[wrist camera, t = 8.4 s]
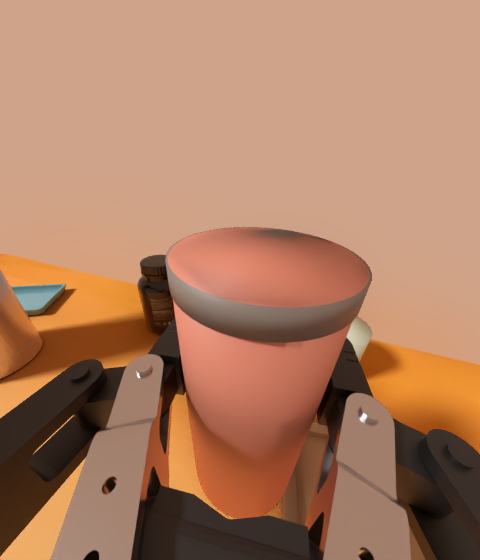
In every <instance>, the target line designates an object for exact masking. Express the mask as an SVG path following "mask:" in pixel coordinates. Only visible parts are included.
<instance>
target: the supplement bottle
mask: <svg viewBox="0 0 480 560" xmlns="http://www.w3.org/2000/svg"><path fill="white" fill-rule="evenodd" d="M165 259H166V255H154V256H149V257H146V258H144V259H143V260H141V262H140V266H141V274H142V277H141V278H140V280H139V281H138V291H139V295H140V299H141V303H142V308H143V312H144V316H145V320H146V324H147V327H148V329H149V330H150V331H152V332H153V333H156V334H163V332H164V331H165V330H166V328H167V327H168V326H169V324H170V323H171V321H172V320H173V319H174V317H175V311H174V304H173V298H172V296H171V293H170V289H169V283H168V276H167V269H166V262H165Z"/></svg>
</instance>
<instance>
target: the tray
mask: <svg viewBox="0 0 480 560" xmlns="http://www.w3.org/2000/svg"><path fill="white" fill-rule="evenodd" d="M328 436H329V434H328V428H327V426H325V425H320V424H318V422H313V423H312V425H311V428H310V430H309V433H308V435H307V438H306V440H305V443H304V445H303V448H302V450H301V453H300V455H299V458H298V460H297V463H296V466H295V468H294V471H293V473H292V476H291V478H290V481H289V483H288V486H287V488H286V491H285V493H284V494H283V496H282V519H283V520H287V521H290V522H294V523H297V524H301V525H304V526H305V522H306V518H307V515H308V511H309V508H310V505H311V503H312V500H313V496H314V492H315V488H316V484H317V479H318V475H319V471H320V466H321V462H322V458H323V453H324V449H325V445H326V441H327V438H328ZM409 536H410V553H411V560H426V559H425V557H424V555H423V553H422V551H421V549H420V547H419V545H418V543H417V541H416V539H415V537H414V535H413V533H412V530H411V528H410V526H409Z"/></svg>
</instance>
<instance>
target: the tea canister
mask: <svg viewBox="0 0 480 560" xmlns="http://www.w3.org/2000/svg"><path fill="white" fill-rule="evenodd" d="M165 262H166V269H167V276H168V283H169V289H170V293H171V296H172V298H173V304H174V311H175V318H176V326H177V333H178V340H179V347H180V354H181V361H182V369H183V376H184V383H185V390H186V397H187V404H188V412H189V419H190V426H191V433H192V440H193V447H194V454H195V462H196V469H197V474H198V478H199V481H200V484H201V486H202V489H203V491H204V493H205V494H206V496H207V497H208V499H209V500H210V501H211V502H212V504H213V505H214V506H215V507H216V508H218V509H219V510H220V511H221V512H223V513H225V514H226V515H229V516H231V517H234V518H238V519H242V518H251V517H259V516H262V515H264V514H266V513H267V512H269V511H270V510H271V509H272V508H273V507H274V506H276V505H277V503H278V502H279V501H280V499H281V498H282V496H283V494H284V493H285V491H286V488H287V486H288V483H289V481H290V478H291V476H292V473H293V471H294V468H295V466H296V463H297V460H298V458H299V455H300V453H301V450H302V448H303V445H304V443H305V440H306V438H307V435H308V433H309V430H310V428H311V425H312V423H313V420H314V418H315V415H316V413H317V410H318V407H319V405H320V402H321V400H322V397H323V395H324V392H325V390H326V387H327V385H328V382H329V380H330V377H331V375H332V372H333V370H334V367H335V365H336V362H337V360H338V357H339V354H340V352H341V349H342V347H343V344H344V342H345V339H346V337H347V334H348V332H349V329H350V327H351V324H352V322H353V320H354V319H355V318H356V316H357V315H358V313H359V311H360V308H361V306H362V303H363V301H364V298H365V296H366V293H367V291H368V288H369V286H370V283H371V281H372V273H371V270H370V268H369V266H368V265H367V264H366V262H365V261H364V260H363V259H361V257H359V256H358V255H356V254H355V253H354V252H352V251H350V250H349V249H347V248H345V247H343V246H341V245H338V244H336V243H334V242H331V241H328V240H326V239H323V238H319V237H316V236H312V235H308V234H304V233H299V232H294V231H288V230H282V229H273V228H259V227H234V228H222V229H215V230H209V231H205V232H200V233H196V234H193V235H191V236H188V237H186V238H183V239H181V240H180V241H178V242H176V243H175V244H174V245H173V246H171V248H170V249H169V250H168V252H167V254H166V259H165Z"/></svg>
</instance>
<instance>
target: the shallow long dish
mask: <svg viewBox="0 0 480 560" xmlns="http://www.w3.org/2000/svg"><path fill="white" fill-rule="evenodd" d="M65 287H66V284H53V285H33V286H13V287H11V288H12V290H13V291H14V293H15V295H16V296H17V298H18V300H19V301H20V303H21V305H22V306H23V308H24V310H25V311H26V313H27V315H28V316H32V315H41V314H43V313H44V312H45V311H46V310H47V309H48V308H49V307H50V306H51V305H52V304H53V303H54V302H55V301H56V300H57V298H58V297H59V296H60V295H61V294H62V293H63V292H64V290H65Z"/></svg>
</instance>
